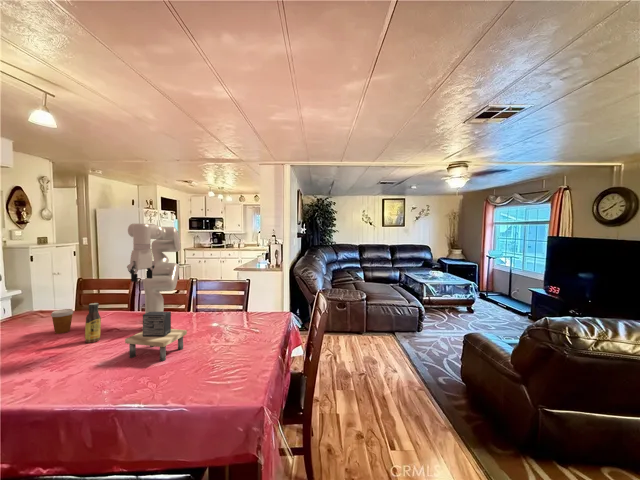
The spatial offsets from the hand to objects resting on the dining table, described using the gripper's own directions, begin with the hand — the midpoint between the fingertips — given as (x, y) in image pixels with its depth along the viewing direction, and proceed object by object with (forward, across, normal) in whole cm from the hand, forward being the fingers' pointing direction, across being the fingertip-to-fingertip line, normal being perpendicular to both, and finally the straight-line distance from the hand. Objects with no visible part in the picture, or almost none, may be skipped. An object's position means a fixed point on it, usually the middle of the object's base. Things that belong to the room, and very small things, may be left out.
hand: (142, 279), depth 142 cm
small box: (+24, +9, +17) cm, 31 cm away
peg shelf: (+33, +9, +17) cm, 38 cm away
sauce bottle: (+34, +4, -26) cm, 43 cm away
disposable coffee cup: (+34, -3, -55) cm, 65 cm away
